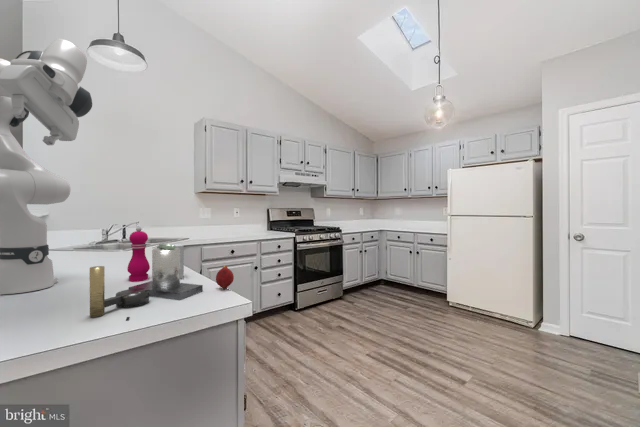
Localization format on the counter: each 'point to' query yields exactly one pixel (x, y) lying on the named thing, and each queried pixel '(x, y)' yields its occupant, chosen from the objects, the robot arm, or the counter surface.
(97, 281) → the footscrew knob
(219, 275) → the onion
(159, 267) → the instrument stand
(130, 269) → the pepper mill
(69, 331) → the counter surface
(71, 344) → the counter surface
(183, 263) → the small box
